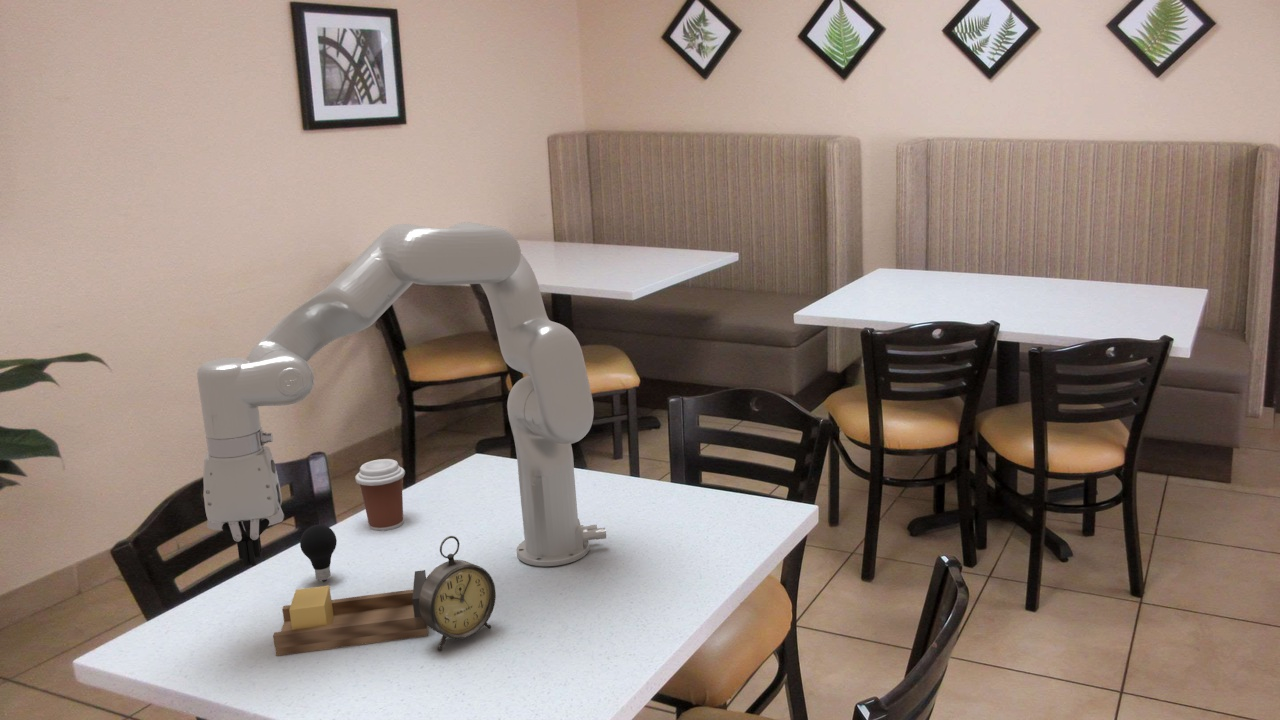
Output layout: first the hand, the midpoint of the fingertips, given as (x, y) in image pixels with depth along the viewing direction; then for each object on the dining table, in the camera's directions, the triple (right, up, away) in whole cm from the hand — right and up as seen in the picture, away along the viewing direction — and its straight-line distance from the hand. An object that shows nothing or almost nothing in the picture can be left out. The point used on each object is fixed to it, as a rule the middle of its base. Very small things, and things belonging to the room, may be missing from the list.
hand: (251, 562), depth 161 cm
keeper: (+8, -11, +4) cm, 14 cm away
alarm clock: (+31, -12, +1) cm, 33 cm away
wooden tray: (+14, -11, +5) cm, 19 cm away
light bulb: (+4, -8, +24) cm, 25 cm away
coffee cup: (+9, -2, +47) cm, 48 cm away
